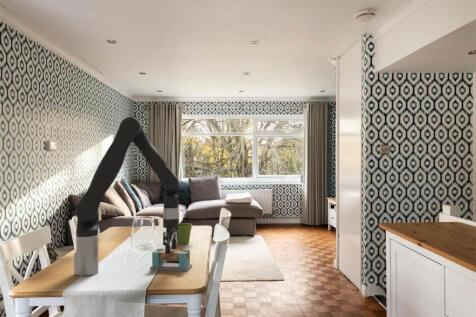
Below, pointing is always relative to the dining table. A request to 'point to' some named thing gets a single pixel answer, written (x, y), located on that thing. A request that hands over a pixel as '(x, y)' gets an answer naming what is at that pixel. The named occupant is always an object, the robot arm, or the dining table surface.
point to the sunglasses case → (173, 261)
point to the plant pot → (184, 233)
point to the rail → (171, 255)
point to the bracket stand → (161, 265)
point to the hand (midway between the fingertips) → (170, 251)
